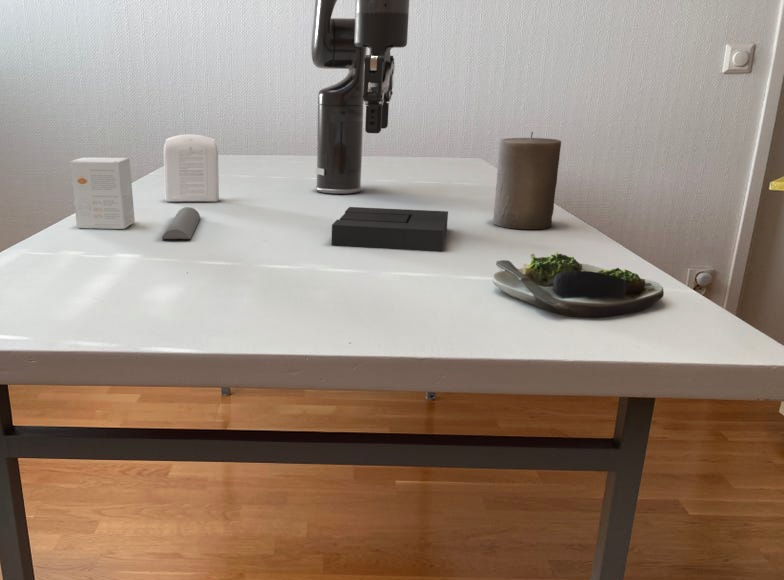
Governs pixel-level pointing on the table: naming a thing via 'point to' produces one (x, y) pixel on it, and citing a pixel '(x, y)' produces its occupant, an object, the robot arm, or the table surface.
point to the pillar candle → (526, 182)
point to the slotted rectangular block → (393, 230)
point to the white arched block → (191, 169)
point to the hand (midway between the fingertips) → (376, 130)
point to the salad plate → (576, 287)
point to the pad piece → (375, 217)
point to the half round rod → (182, 224)
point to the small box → (102, 192)
